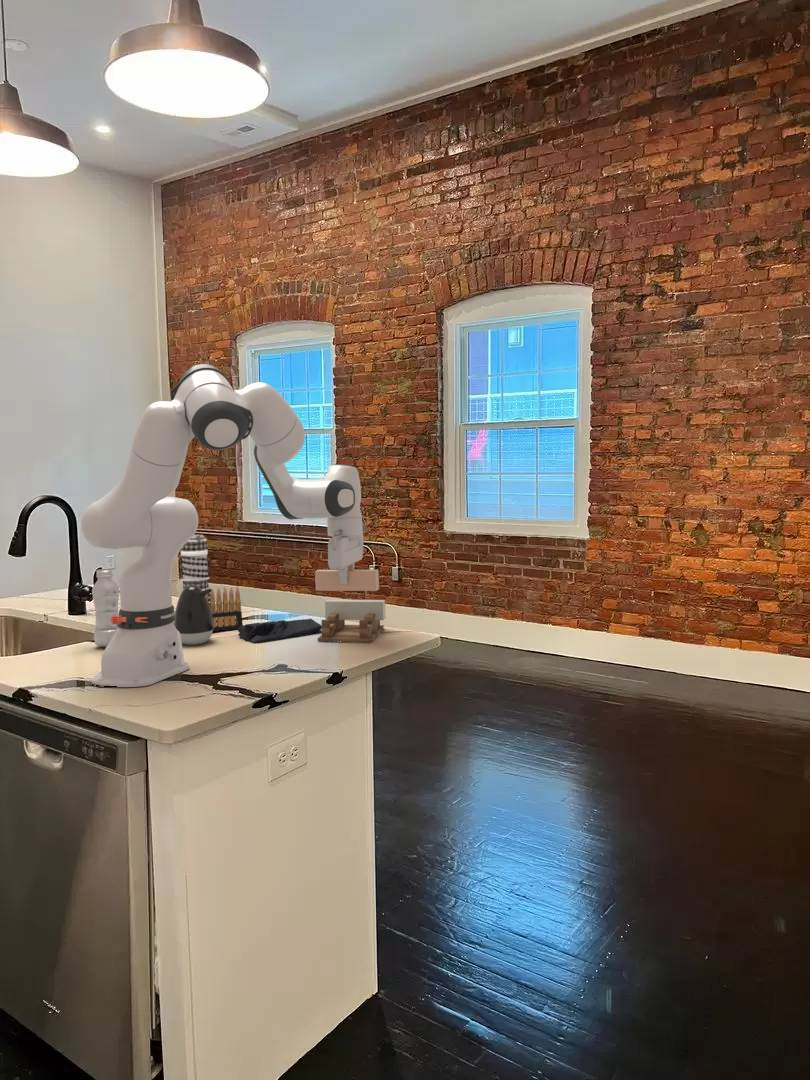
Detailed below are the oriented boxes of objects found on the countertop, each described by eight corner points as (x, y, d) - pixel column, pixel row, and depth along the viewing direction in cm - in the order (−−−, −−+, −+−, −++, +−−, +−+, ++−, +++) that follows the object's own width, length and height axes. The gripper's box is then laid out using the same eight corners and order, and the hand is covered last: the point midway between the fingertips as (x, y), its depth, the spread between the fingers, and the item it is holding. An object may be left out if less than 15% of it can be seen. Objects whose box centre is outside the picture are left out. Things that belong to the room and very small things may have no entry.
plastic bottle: (94, 645, 206) (90, 569, 205) (122, 642, 209) (117, 567, 207) (94, 650, 200) (89, 572, 199) (122, 648, 203) (118, 570, 201)
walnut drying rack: (370, 642, 202) (370, 621, 202) (317, 641, 205) (316, 620, 204) (384, 628, 219) (383, 609, 218) (334, 628, 221) (334, 608, 221)
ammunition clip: (241, 627, 225) (240, 585, 224) (243, 628, 224) (241, 586, 222) (203, 631, 221) (201, 588, 220) (204, 632, 219) (202, 589, 218)
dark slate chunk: (328, 635, 214) (328, 618, 214) (249, 646, 204) (248, 628, 203) (307, 626, 227) (307, 609, 227) (232, 635, 217) (231, 618, 217)
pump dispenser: (205, 648, 201) (202, 588, 199) (167, 647, 203) (164, 588, 201) (222, 639, 211) (219, 582, 209) (185, 638, 213) (183, 582, 211)
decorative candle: (176, 617, 243) (172, 535, 241) (203, 612, 249) (199, 533, 247) (190, 621, 236) (186, 537, 234) (218, 616, 243) (214, 534, 240)
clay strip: (379, 589, 204) (378, 569, 203) (376, 590, 201) (375, 571, 200) (319, 588, 207) (318, 569, 206) (315, 590, 204) (314, 571, 204)
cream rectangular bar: (385, 618, 216) (385, 600, 215) (383, 620, 213) (382, 601, 212) (328, 617, 219) (327, 599, 218) (325, 619, 216) (325, 601, 215)
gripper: (345, 531, 192) (347, 588, 193) (366, 525, 211) (368, 576, 213) (320, 532, 193) (322, 588, 194) (343, 525, 213) (345, 576, 214)
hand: (346, 582), depth 204 cm, fingers closed on clay strip, 3 cm apart
